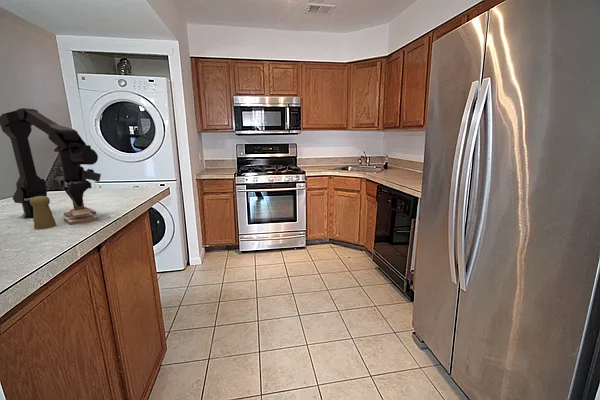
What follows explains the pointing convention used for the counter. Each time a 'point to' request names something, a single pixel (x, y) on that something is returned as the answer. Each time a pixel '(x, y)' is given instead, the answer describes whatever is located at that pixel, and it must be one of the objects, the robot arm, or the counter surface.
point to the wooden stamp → (79, 209)
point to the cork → (42, 213)
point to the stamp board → (81, 219)
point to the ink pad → (72, 215)
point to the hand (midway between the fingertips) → (78, 205)
